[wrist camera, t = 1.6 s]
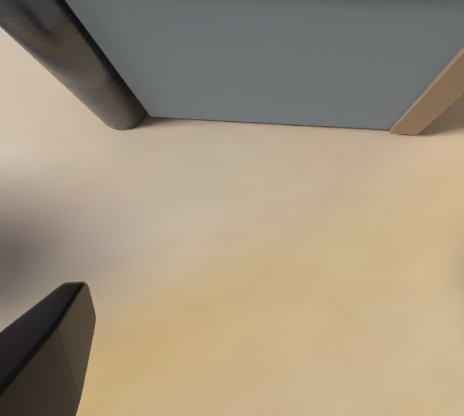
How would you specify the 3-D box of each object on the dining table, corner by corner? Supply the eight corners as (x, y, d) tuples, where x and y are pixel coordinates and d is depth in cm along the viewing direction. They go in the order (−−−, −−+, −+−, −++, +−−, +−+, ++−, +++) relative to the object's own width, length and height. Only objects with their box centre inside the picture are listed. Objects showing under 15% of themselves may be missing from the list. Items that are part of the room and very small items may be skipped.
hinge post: (167, 110, 23) (-3, -169, 8) (114, 147, 23) (-151, -71, 8) (132, 62, 24) (-82, -276, 9) (81, 98, 24) (-221, -185, 9)
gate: (150, 120, 23) (17, -56, 10) (154, 85, 23) (29, -125, 11) (417, 134, 21) (620, -46, 9) (418, 98, 22) (616, -124, 10)
